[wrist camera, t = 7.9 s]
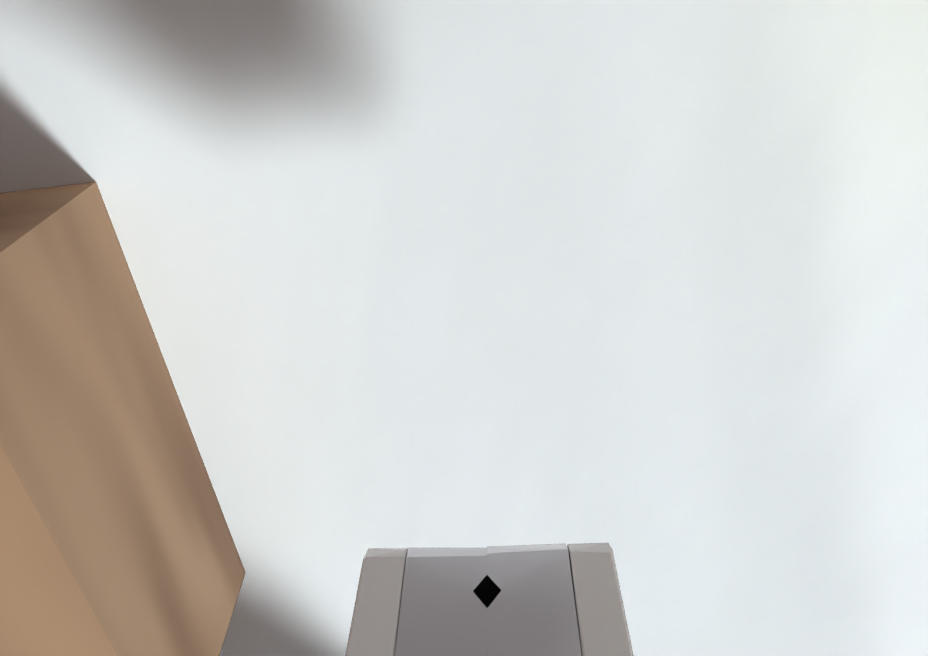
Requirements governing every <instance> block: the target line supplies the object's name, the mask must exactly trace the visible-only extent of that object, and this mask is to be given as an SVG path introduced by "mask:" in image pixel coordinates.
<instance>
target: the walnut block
mask: <svg viewBox="0 0 928 656" xmlns="http://www.w3.org/2000/svg"><path fill="white" fill-rule="evenodd" d="M244 576H245V570H244V568H243V565H242V562H241V560H240V557H239V555H238V552H237V549H236V547H235V544H234V541H233V539H232V536H231V534H230V531H229V528H228V526H227V523H226V521H225V518H224V515H223V513H222V510H221V508H220V505H219V502H218V500H217V497H216V494H215V492H214V489H213V487H212V484H211V481H210V479H209V476H208V474H207V471H206V468H205V466H204V463H203V460H202V458H201V455H200V453H199V450H198V447H197V445H196V442H195V440H194V437H193V434H192V432H191V429H190V426H189V424H188V421H187V419H186V416H185V413H184V411H183V408H182V406H181V403H180V400H179V398H178V395H177V392H176V390H175V387H174V385H173V382H172V379H171V377H170V374H169V372H168V369H167V366H166V364H165V361H164V358H163V356H162V353H161V351H160V348H159V345H158V343H157V340H156V338H155V335H154V332H153V330H152V327H151V324H150V322H149V319H148V317H147V314H146V311H145V309H144V306H143V304H142V301H141V298H140V296H139V293H138V290H137V288H136V285H135V283H134V280H133V277H132V275H131V272H130V270H129V267H128V264H127V262H126V259H125V256H124V254H123V251H122V249H121V246H120V243H119V241H118V238H117V236H116V233H115V230H114V228H113V225H112V222H111V220H110V217H109V215H108V212H107V209H106V207H105V204H104V202H103V199H102V196H101V194H100V191H99V188H98V186H97V183H96V182H91V183H82V184H73V185H65V186H56V187H47V188H39V189H30V190H21V191H13V192H4V193H0V656H219V655H220V651H221V648H222V645H223V642H224V639H225V636H226V632H227V629H228V626H229V623H230V620H231V617H232V613H233V610H234V607H235V604H236V601H237V598H238V595H239V591H240V588H241V585H242V582H243V579H244Z"/></svg>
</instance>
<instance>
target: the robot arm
mask: <svg viewBox="0 0 928 656" xmlns="http://www.w3.org/2000/svg"><path fill="white" fill-rule="evenodd" d="M345 656H633V651H632V646H631V641H630V636H629V631H628V626H627V620H626V615H625V610H624V605H623V600H622V595H621V590H620V585H619V580H618V575H617V570H616V565H615V560H614V555H613V550H612V548H611V547H610V545H609V544H608V543H585V544H568V545H566V544H542V545H516V546H490V547H487V548H376V549H368V551H367V553H366V555H365V557H364V559H363V563H362V568H361V574H360V579H359V585H358V590H357V595H356V601H355V606H354V612H353V617H352V622H351V628H350V633H349V639H348V644H347V650H346V655H345Z"/></svg>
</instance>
